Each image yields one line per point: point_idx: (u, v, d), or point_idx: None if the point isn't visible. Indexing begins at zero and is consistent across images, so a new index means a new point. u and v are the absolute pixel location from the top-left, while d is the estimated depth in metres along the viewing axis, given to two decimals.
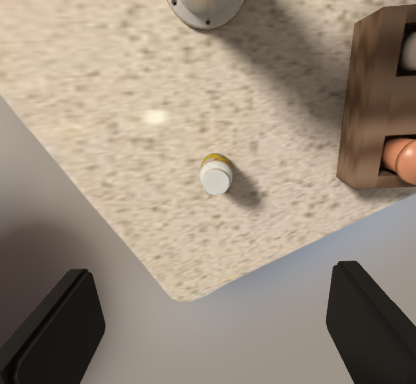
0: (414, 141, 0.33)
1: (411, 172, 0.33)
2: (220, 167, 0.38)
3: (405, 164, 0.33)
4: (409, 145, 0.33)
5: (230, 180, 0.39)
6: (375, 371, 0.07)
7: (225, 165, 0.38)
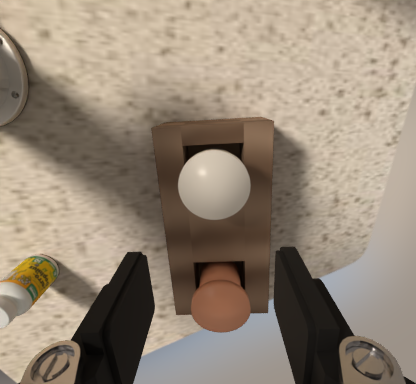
0: (204, 286, 0.26)
1: (207, 320, 0.27)
2: (6, 292, 0.32)
3: (197, 312, 0.27)
4: (198, 291, 0.26)
5: (24, 304, 0.32)
6: (295, 338, 0.08)
7: (15, 288, 0.32)
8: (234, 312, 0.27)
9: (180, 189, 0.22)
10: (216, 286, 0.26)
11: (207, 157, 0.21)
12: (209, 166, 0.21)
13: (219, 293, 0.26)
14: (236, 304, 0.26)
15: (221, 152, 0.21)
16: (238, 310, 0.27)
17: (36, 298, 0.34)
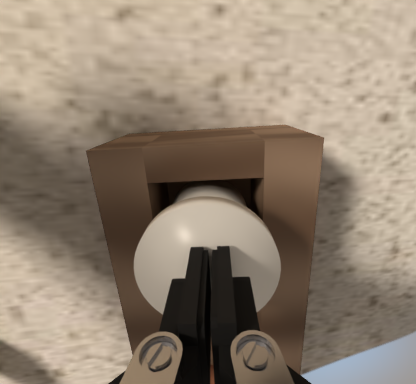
0: None
1: None
2: None
3: None
4: None
5: None
6: None
7: None
8: None
9: (139, 276, 0.11)
10: None
11: (192, 217, 0.10)
12: (196, 234, 0.10)
13: None
14: None
15: (221, 207, 0.10)
16: None
17: None
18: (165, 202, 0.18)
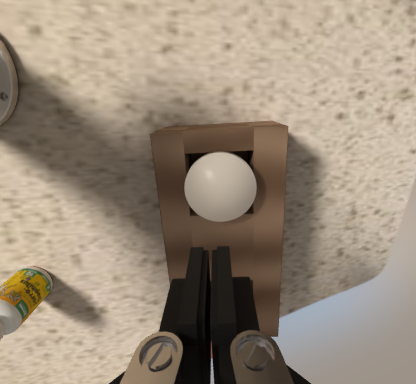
0: None
1: (211, 347, 0.24)
2: None
3: None
4: None
5: (13, 323, 0.30)
6: None
7: (3, 306, 0.30)
8: None
9: (186, 191, 0.22)
10: None
11: (213, 159, 0.21)
12: (215, 168, 0.21)
13: None
14: None
15: (227, 154, 0.21)
16: None
17: (26, 315, 0.32)
18: None
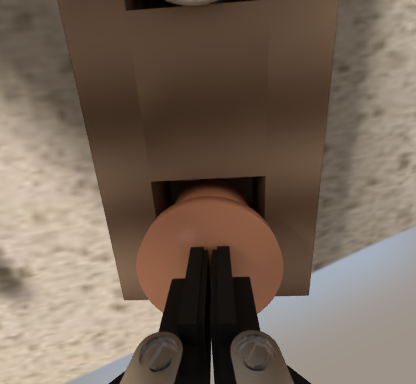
0: (167, 211, 0.10)
1: None
2: None
3: (152, 277, 0.11)
4: (153, 223, 0.11)
5: None
6: None
7: None
8: None
9: None
10: (197, 206, 0.10)
11: None
12: None
13: (206, 227, 0.10)
14: (248, 256, 0.10)
15: None
16: (253, 272, 0.11)
17: None
18: None
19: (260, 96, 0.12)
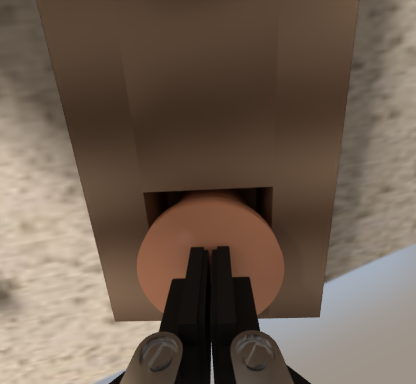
0: (167, 212, 0.10)
1: None
2: None
3: (152, 278, 0.11)
4: (154, 224, 0.10)
5: None
6: None
7: None
8: None
9: None
10: (198, 206, 0.10)
11: None
12: None
13: (207, 228, 0.10)
14: (249, 257, 0.10)
15: None
16: (254, 273, 0.11)
17: None
18: None
19: (268, 96, 0.10)
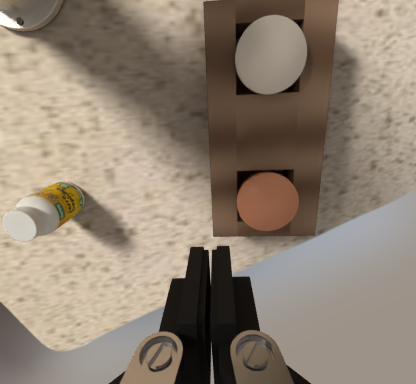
0: (251, 177, 0.26)
1: (252, 215, 0.27)
2: (34, 205, 0.30)
3: (243, 205, 0.26)
4: (245, 182, 0.26)
5: (52, 221, 0.30)
6: None
7: (43, 202, 0.30)
8: (281, 206, 0.26)
9: (237, 59, 0.23)
10: (265, 174, 0.25)
11: (266, 22, 0.22)
12: (268, 32, 0.22)
13: (268, 183, 0.25)
14: (284, 196, 0.26)
15: (281, 16, 0.22)
16: (286, 204, 0.26)
17: (63, 219, 0.32)
18: None
19: (293, 131, 0.26)
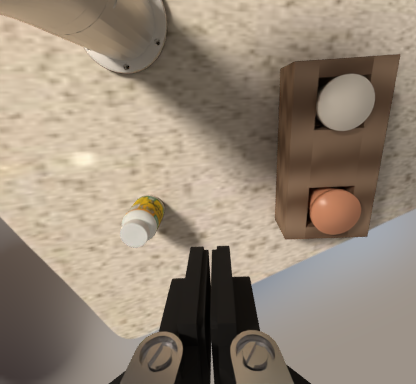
0: (324, 193, 0.33)
1: (323, 223, 0.34)
2: (141, 217, 0.36)
3: (317, 215, 0.33)
4: (319, 197, 0.33)
5: (153, 230, 0.37)
6: None
7: (147, 215, 0.37)
8: (347, 215, 0.33)
9: (321, 105, 0.30)
10: (337, 191, 0.32)
11: (346, 78, 0.29)
12: (346, 86, 0.29)
13: (338, 198, 0.33)
14: (350, 208, 0.33)
15: (357, 74, 0.28)
16: (351, 213, 0.33)
17: None
18: None
19: (356, 157, 0.33)
